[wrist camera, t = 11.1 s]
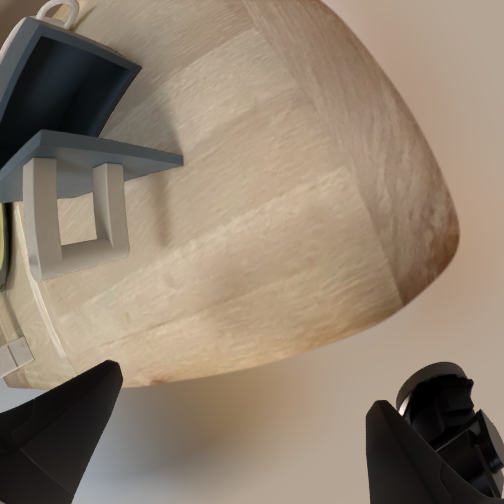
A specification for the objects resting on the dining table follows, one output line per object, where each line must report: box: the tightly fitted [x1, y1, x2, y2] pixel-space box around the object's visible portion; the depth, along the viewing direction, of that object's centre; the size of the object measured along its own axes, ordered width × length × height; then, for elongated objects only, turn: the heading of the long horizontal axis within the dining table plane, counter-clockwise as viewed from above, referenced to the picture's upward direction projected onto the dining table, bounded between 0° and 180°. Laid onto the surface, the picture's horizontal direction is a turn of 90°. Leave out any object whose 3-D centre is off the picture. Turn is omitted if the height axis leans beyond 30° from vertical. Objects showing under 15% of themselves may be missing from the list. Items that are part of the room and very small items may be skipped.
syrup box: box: [0, 337, 34, 378], centre depth 33 cm, size 6×6×14 cm
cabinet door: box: [0, 130, 183, 282], centre depth 17 cm, size 7×16×12 cm, turn 96°
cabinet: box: [0, 16, 142, 170], centre depth 17 cm, size 9×16×13 cm, turn 138°
